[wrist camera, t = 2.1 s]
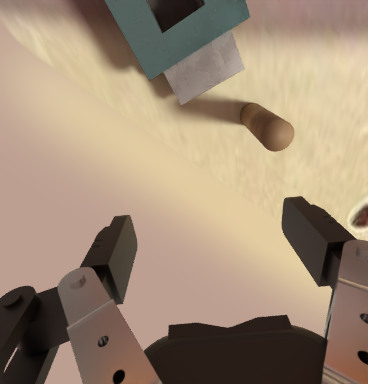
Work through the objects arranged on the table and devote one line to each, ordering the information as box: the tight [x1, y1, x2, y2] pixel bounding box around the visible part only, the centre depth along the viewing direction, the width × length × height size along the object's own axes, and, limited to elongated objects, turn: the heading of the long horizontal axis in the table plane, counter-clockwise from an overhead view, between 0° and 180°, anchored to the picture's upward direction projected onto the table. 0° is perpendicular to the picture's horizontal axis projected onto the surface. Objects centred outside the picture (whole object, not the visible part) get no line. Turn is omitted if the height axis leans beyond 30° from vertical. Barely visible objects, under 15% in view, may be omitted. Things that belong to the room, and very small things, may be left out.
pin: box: [240, 103, 294, 151], centre depth 26 cm, size 3×3×10 cm
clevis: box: [104, 0, 250, 105], centre depth 23 cm, size 11×16×6 cm
